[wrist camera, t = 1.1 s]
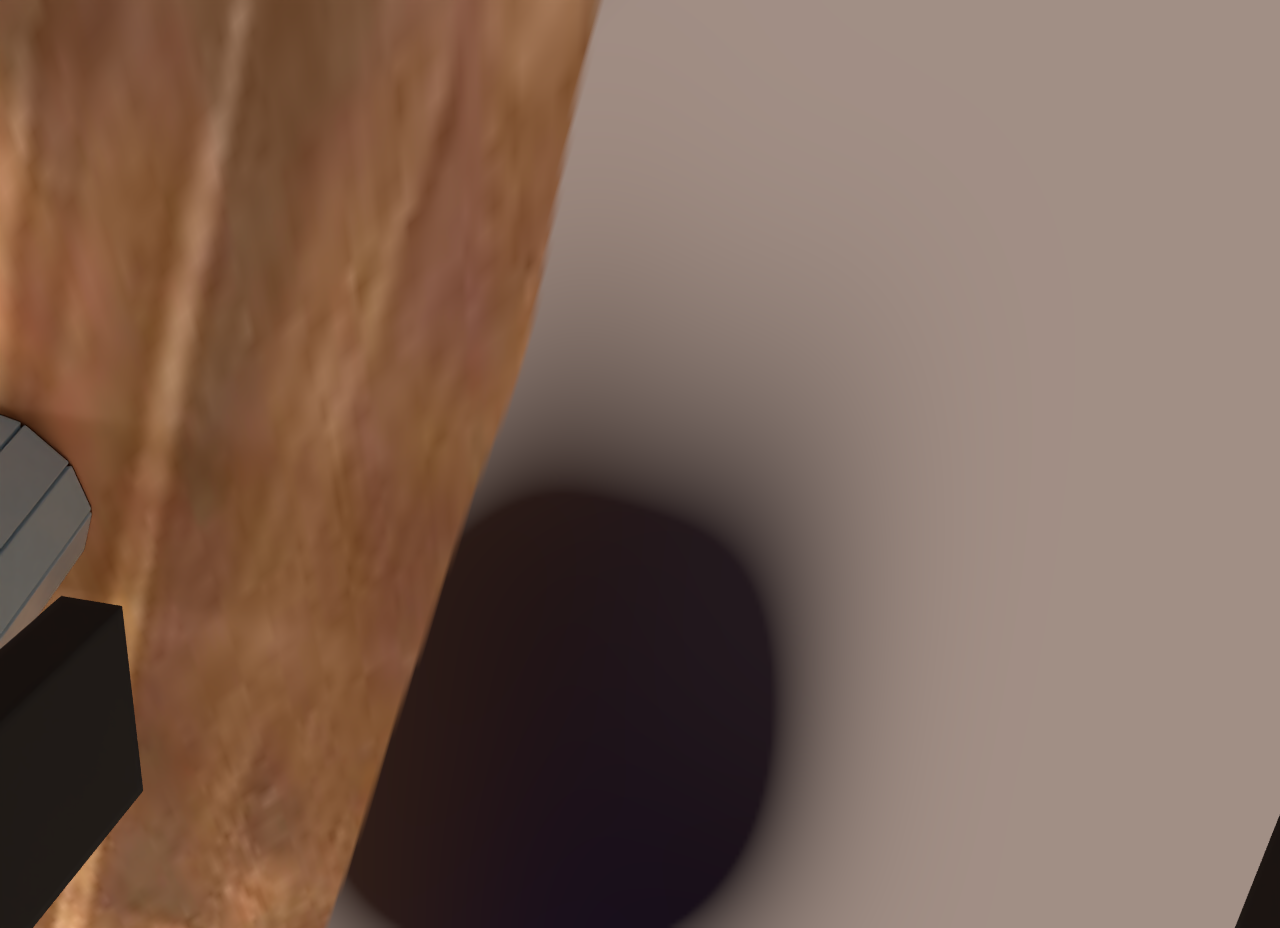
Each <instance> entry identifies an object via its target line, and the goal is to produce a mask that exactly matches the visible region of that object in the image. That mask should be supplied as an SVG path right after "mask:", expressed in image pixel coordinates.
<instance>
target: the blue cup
mask: <svg viewBox="0 0 1280 928" xmlns="http://www.w3.org/2000/svg"><path fill="white" fill-rule="evenodd" d="M20 425H21V423H20V422H19V421H16V420H13V419H10V418H8V417H5V416H2V415H0V649H1V648H2V647H3V646H4V645H5V644H7V643H8V642H9V641H10V640H11V639H12V638H13V637H15V636H16V635H17V634H18V633H19V632H20V631H21V630H23V629H24V628H25V627H26V626H27V625H28V624H30V623H31V622H32V621H33V620H34V619H35V618H36V617H38V615H39V614H40V612H41V611H42V610H43V608H44V607H45V605H46V604H47V602H48V601H49V600H50V598H51V597H52V595H53V594H54V592H55V591H56V590H57V588H58V587H59V585H60V584H61V582H62V581H63V580H64V578H65V577H66V575H67V574H68V572H69V571H70V570H71V568H72V567H73V565H74V564H75V562H76V561H77V560H78V558H79V557H80V555H81V554H82V552H83V551H84V549H85V544H86V539H87V534H88V530H89V525H90V520H91V515H92V513H91V512H90V510H91V507H90V505H89V503H88V501H87V498H86V496H85V494H84V492H83V490H82V487H81V485H80V483H79V481H78V479H77V476H76V474H75V472H74V470H73V468H72V466H67V465H68V463H69V462H68V461H67V460H66V459H64V458H63V457H62V456H61V455H60V454H59V453H57V452H56V451H55V450H54V449H53V448H52V447H50V446H49V445H48V444H47V443H46V442H45V441H43V440H42V439H41V438H40V437H39V436H38V435H36V434H35V433H34V432H33V431H32V430H31V429H30V428H28V427H27V426H26V425H24V426H23V427H21V428H20Z"/></svg>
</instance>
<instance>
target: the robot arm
mask: <svg viewBox="0 0 1280 928" xmlns="http://www.w3.org/2000/svg"><path fill="white" fill-rule="evenodd" d="M142 791H143V785H142V776H141V767H140V759H139V750H138V741H137V732H136V724H135V715H134V706H133V697H132V689H131V680H130V671H129V663H128V654H127V645H126V636H125V628H124V619H123V610H122V606H118V605H112V604H106V603H100V602H94V601H88V600H82V599H76V598H70V597H64V596H61V597H59V598H58V599H57V600H56V601H55V602H54V603H53V604H51V605H50V606H49V607H48V608H47V609H46V610H45V611H43V612H42V613H41V614H40V615H39V616H38V617H36V618H35V619H34V620H33V621H32V622H31V623H30V624H28V625H27V626H26V627H25V628H24V629H23V630H21V631H20V632H19V633H18V634H17V635H16V636H15V637H13V638H12V639H11V640H10V641H9V642H8V643H7V644H5V645H4V646H3V647H2V648H1V649H0V928H33V927H34V926H35V924H36V923H37V922H38V921H39V919H40V918H41V917H42V916H43V914H44V913H45V912H46V911H47V910H48V908H49V907H50V906H51V905H52V903H53V902H54V901H55V900H56V898H57V897H58V896H59V895H60V893H61V892H62V891H63V890H64V888H65V887H66V886H67V885H68V883H69V882H70V881H71V880H72V878H73V877H74V876H75V875H76V873H77V872H78V871H79V870H80V869H81V867H82V866H83V865H84V864H85V862H86V861H87V860H88V859H89V857H90V856H91V855H92V854H93V852H94V851H95V850H96V849H97V847H98V846H99V845H100V844H101V842H102V841H103V840H104V839H105V837H106V836H107V835H108V834H109V832H110V831H111V830H112V829H113V828H114V826H115V825H116V824H117V823H118V821H119V820H120V819H121V818H122V816H123V815H124V814H125V813H126V811H127V810H128V809H129V808H130V806H131V805H132V804H133V803H134V801H135V800H136V799H137V798H138V796H139V795H140V794H141V793H142ZM1235 928H1280V816H1279V818H1278V821H1277V823H1276V826H1275V828H1274V831H1273V833H1272V836H1271V838H1270V841H1269V843H1268V846H1267V848H1266V851H1265V853H1264V856H1263V859H1262V861H1261V863H1260V866H1259V869H1258V871H1257V874H1256V876H1255V878H1254V881H1253V884H1252V886H1251V889H1250V891H1249V894H1248V896H1247V899H1246V901H1245V904H1244V906H1243V909H1242V911H1241V914H1240V916H1239V919H1238V921H1237V924H1236V926H1235Z"/></svg>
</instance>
